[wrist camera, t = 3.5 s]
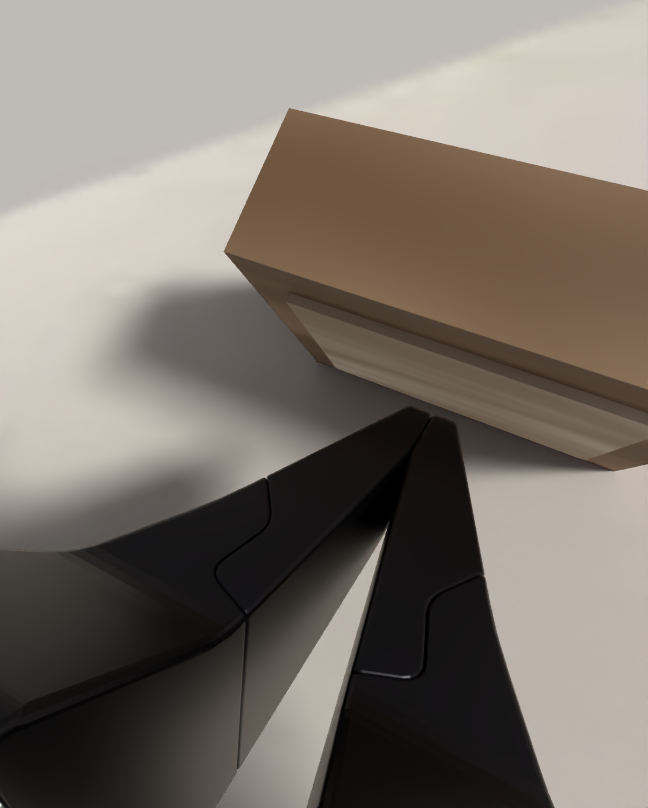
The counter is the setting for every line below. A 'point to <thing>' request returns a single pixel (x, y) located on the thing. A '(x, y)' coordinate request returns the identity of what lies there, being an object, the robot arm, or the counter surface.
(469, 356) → the walnut block
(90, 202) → the counter surface
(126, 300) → the counter surface
